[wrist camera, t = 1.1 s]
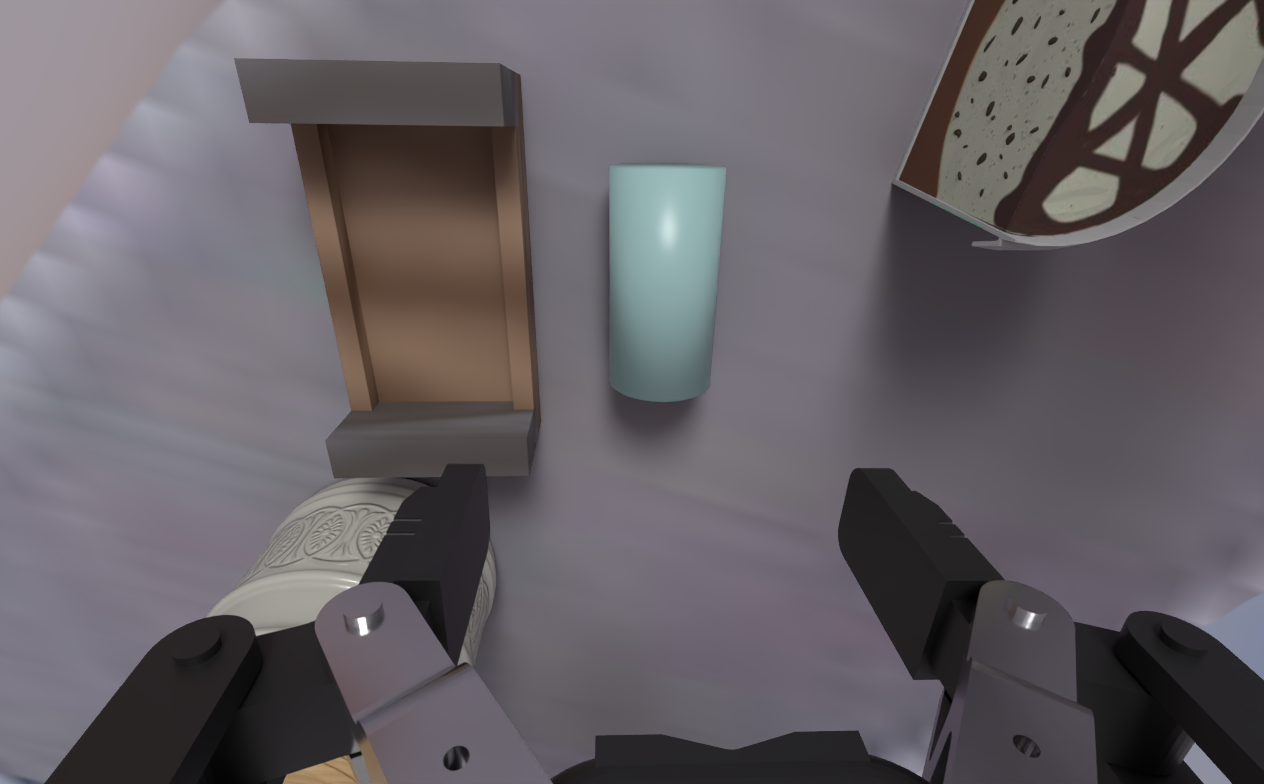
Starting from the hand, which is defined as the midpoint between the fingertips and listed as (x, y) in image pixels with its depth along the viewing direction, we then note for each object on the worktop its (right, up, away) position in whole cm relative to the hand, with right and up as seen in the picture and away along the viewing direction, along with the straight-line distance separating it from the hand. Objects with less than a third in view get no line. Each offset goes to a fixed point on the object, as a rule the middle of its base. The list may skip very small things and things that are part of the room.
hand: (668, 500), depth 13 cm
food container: (+16, +16, +14) cm, 26 cm away
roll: (+1, +8, +14) cm, 16 cm away
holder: (-10, +8, +16) cm, 21 cm away
